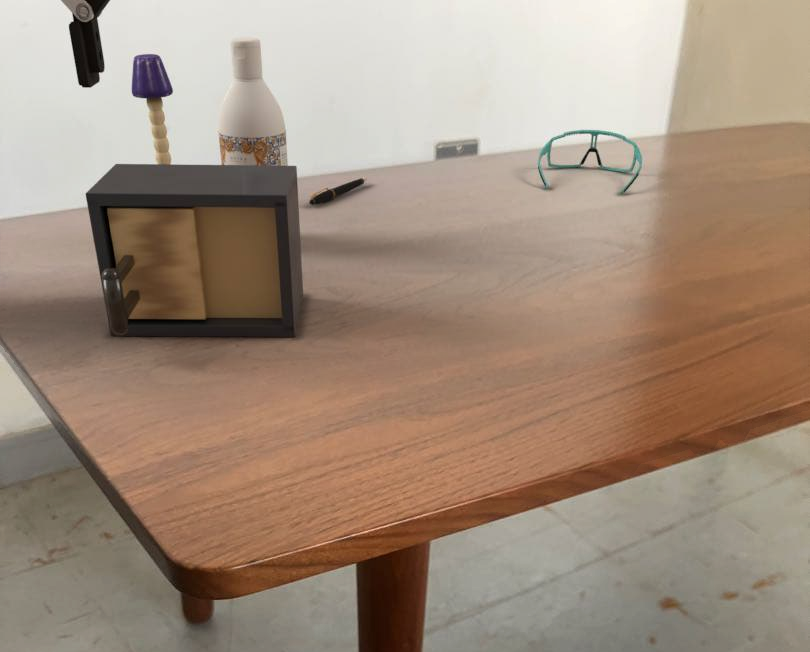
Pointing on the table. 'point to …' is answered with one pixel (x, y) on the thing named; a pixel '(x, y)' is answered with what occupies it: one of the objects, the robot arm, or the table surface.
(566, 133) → the sunglasses
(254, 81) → the bath foam
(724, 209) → the table surface
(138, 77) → the toy lamp
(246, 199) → the cupboard
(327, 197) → the fountain pen
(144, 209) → the sliding door
